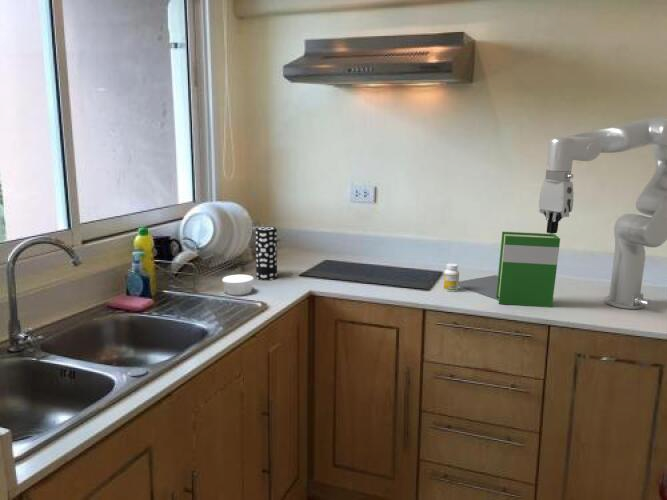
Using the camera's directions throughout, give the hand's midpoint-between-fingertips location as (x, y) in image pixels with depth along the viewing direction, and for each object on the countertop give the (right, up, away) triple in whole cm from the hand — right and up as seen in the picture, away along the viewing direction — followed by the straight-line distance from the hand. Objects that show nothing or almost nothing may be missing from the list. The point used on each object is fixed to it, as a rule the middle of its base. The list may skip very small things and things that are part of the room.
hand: (551, 232), depth 185 cm
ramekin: (-106, -21, +23) cm, 111 cm away
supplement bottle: (-27, -21, +28) cm, 44 cm away
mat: (-8, -20, +32) cm, 38 cm away
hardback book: (-5, -24, +14) cm, 28 cm away
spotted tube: (-98, -17, +42) cm, 108 cm away
